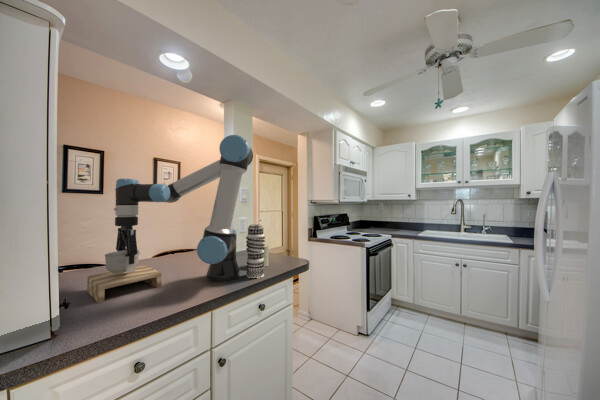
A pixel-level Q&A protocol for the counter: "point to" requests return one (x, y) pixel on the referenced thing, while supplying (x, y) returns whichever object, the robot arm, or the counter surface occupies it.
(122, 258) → the teacup
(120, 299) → the counter surface
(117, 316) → the counter surface
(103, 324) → the counter surface
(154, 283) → the wooden riser stand
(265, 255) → the can
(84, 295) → the counter surface
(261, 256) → the decorative candle
